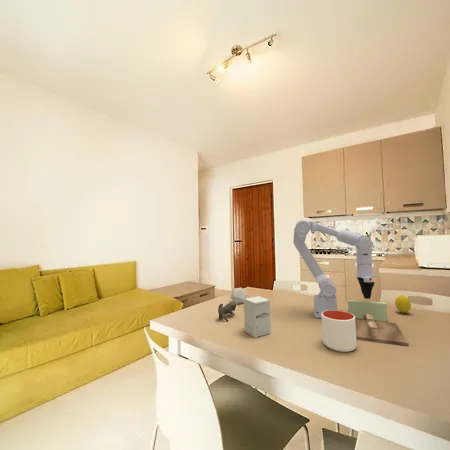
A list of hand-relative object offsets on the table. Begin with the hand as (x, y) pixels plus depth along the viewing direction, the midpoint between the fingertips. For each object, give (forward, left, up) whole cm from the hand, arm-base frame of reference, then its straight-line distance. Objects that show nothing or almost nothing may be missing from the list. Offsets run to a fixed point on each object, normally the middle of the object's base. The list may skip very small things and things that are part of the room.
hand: (366, 296), depth 101 cm
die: (-60, +5, -10) cm, 61 cm away
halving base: (0, -14, -9) cm, 17 cm away
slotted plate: (0, 0, -9) cm, 9 cm away
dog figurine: (-56, -18, -10) cm, 60 cm away
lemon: (+15, +12, -10) cm, 21 cm away
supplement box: (-39, -29, -10) cm, 50 cm away
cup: (-11, -30, -10) cm, 33 cm away
